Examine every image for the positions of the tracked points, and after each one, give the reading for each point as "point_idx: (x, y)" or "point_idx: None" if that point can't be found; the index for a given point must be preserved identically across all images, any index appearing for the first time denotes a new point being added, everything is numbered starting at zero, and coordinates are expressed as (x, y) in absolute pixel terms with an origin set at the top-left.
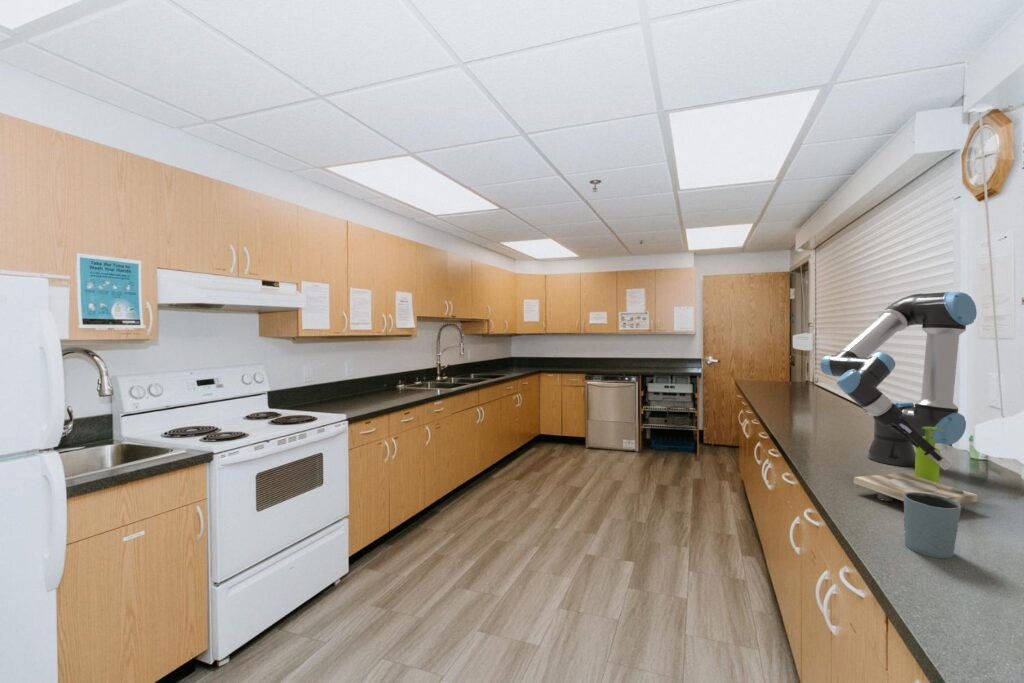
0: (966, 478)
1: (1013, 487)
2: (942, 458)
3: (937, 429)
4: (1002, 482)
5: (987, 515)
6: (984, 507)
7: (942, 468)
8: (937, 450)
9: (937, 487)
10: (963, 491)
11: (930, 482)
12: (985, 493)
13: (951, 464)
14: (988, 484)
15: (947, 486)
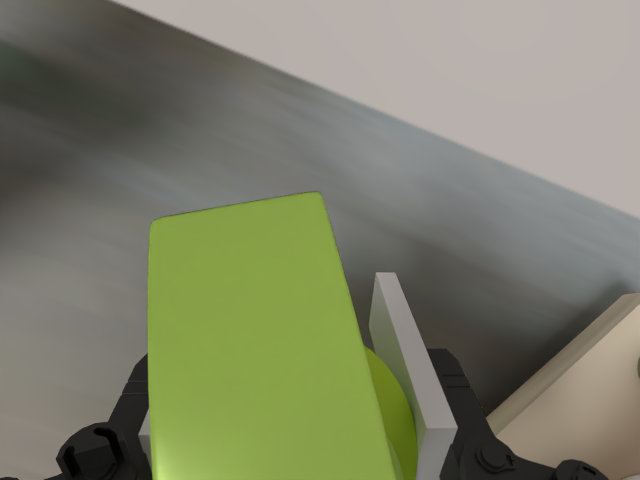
0: (25, 122)
1: (128, 12)
2: (448, 353)
3: (360, 374)
4: (57, 14)
5: (600, 275)
6: (491, 241)
7: (372, 334)
8: (384, 372)
9: (636, 457)
10: (631, 335)
11: (534, 459)
12: (269, 151)
13: (395, 281)
14: (109, 78)
15: (575, 386)
